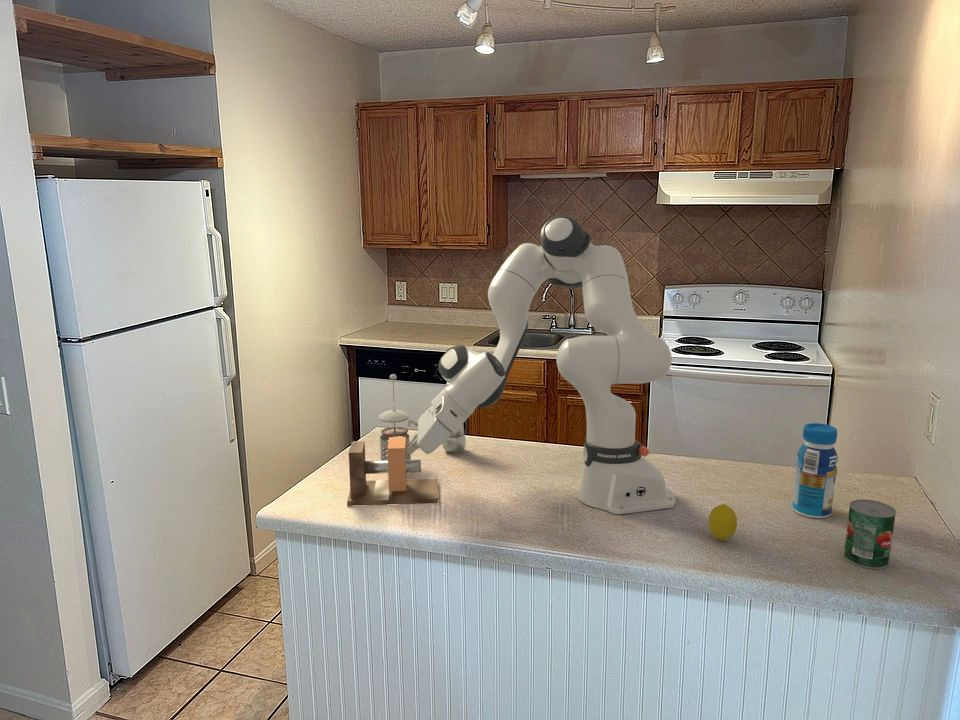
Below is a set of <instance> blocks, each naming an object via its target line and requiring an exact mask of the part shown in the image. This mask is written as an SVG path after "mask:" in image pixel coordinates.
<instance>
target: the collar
mask: <svg viewBox="0 0 960 720" xmlns="http://www.w3.org/2000/svg"><path fill="white" fill-rule="evenodd" d="M388 441H389V442H388V450H387V451H388V454H387V456H388V473H387V474H388V476H387V477H388V479H387V480H388V482H389V491H406V483H407V480H408V476H407V475H408V473H406V437H402V436H397V437H389V440H388Z"/></svg>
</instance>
